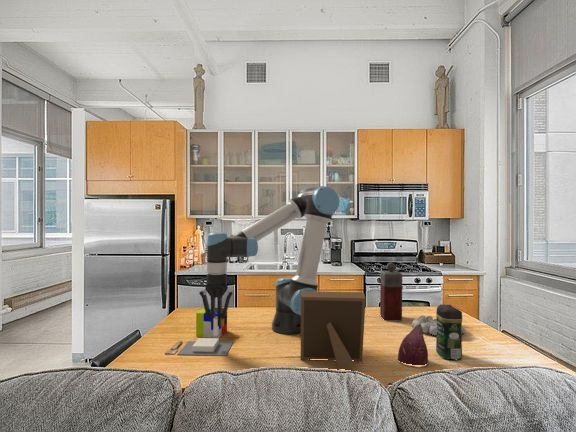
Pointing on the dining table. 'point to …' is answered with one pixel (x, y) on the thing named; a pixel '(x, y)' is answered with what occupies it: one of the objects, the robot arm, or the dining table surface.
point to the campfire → (429, 324)
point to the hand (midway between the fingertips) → (216, 334)
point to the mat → (219, 351)
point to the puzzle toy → (209, 324)
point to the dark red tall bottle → (391, 294)
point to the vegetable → (414, 348)
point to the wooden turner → (174, 348)
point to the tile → (205, 345)
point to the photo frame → (332, 326)
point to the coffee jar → (449, 332)
